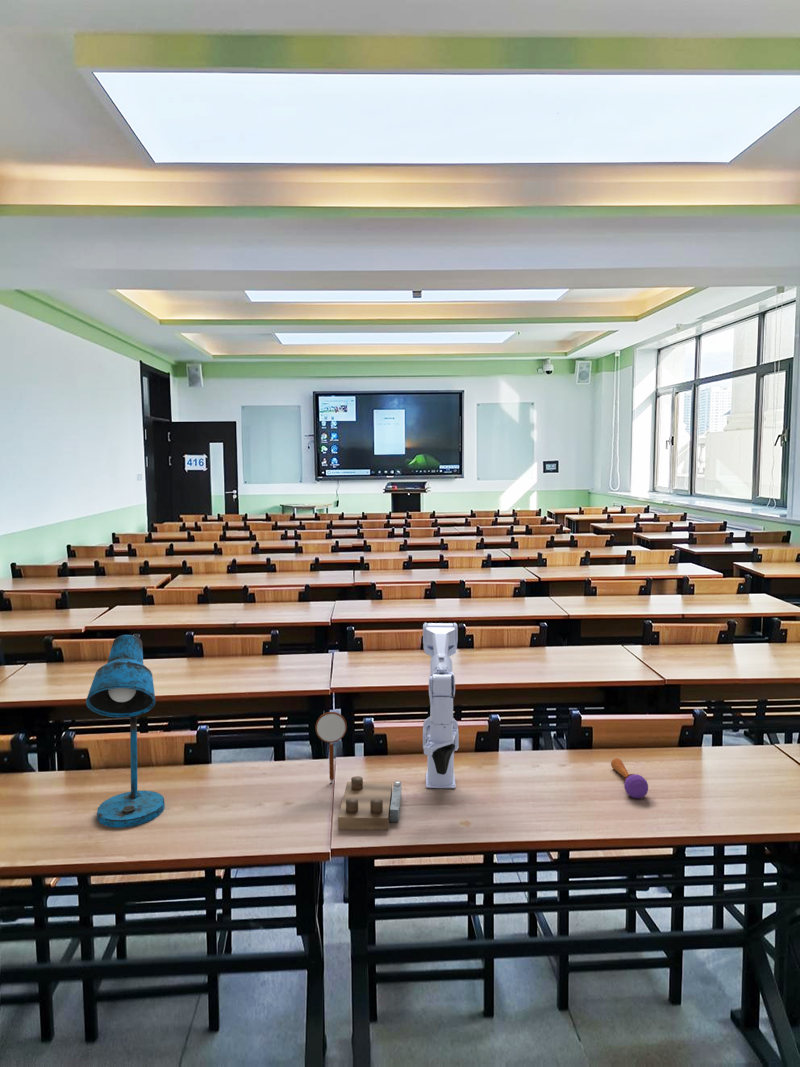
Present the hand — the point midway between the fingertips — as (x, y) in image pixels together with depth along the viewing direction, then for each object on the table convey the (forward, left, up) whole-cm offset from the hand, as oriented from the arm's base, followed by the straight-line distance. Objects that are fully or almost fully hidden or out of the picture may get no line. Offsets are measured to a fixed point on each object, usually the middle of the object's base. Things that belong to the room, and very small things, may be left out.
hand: (441, 773), depth 176 cm
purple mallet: (-15, +51, -10) cm, 54 cm away
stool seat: (+2, -19, -9) cm, 21 cm away
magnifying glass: (-14, -30, -10) cm, 34 cm away
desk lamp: (+6, -78, -10) cm, 79 cm away
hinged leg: (0, -12, -9) cm, 15 cm away
